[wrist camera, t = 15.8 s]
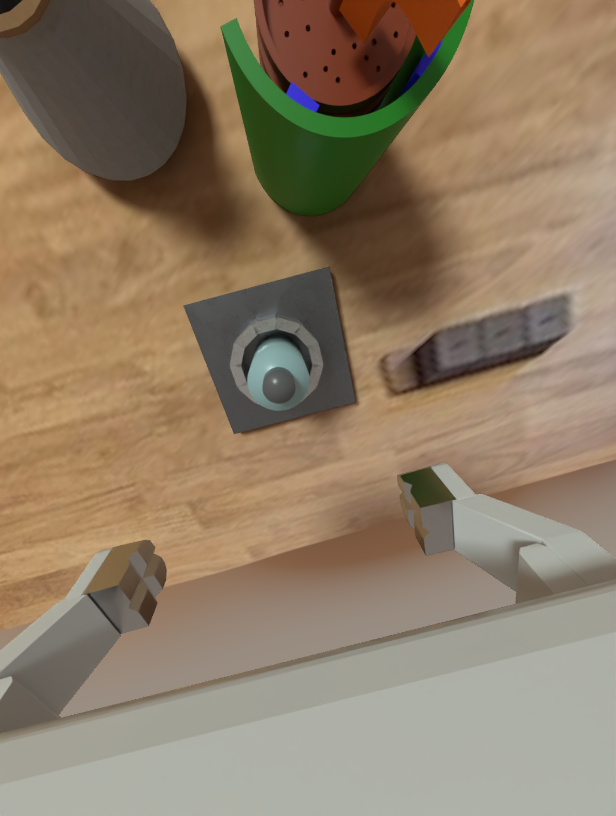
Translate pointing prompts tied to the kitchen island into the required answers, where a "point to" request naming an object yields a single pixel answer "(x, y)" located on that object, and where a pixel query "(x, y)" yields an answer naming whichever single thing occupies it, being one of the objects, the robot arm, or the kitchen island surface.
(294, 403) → the capped teal cylinder
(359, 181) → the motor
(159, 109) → the coffee pot
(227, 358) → the motor mount
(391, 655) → the robot arm
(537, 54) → the kitchen island surface
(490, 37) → the kitchen island surface
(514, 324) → the kitchen island surface
